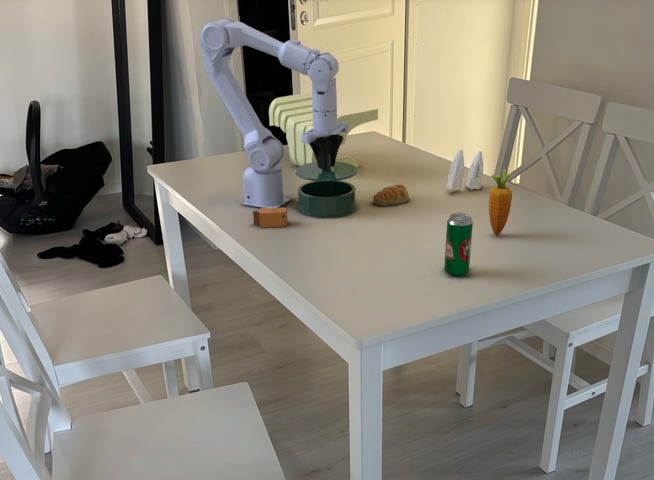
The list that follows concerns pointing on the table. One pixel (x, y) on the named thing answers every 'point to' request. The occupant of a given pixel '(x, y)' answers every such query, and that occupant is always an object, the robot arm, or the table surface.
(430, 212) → the table surface
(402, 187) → the pastry
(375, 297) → the table surface
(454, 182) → the shaker set
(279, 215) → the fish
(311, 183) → the pot
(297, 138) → the slatted curved stool
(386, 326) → the table surface
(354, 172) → the pot lid
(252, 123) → the robot arm
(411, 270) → the table surface
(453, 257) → the soda can
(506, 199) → the carrot
